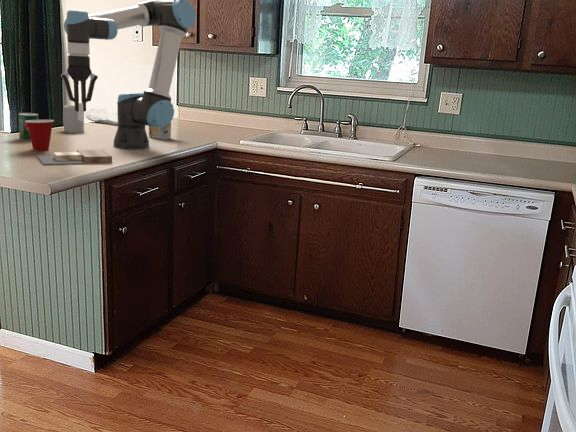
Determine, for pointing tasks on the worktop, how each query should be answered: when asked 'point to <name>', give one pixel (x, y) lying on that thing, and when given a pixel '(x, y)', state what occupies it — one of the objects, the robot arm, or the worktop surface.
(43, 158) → the rubber mat
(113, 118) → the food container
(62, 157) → the birch tile
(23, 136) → the canned tomato
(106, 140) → the worktop surface
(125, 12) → the robot arm
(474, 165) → the worktop surface
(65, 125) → the cup
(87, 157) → the walnut deck
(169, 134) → the coffee box
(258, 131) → the worktop surface
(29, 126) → the plastic cup
